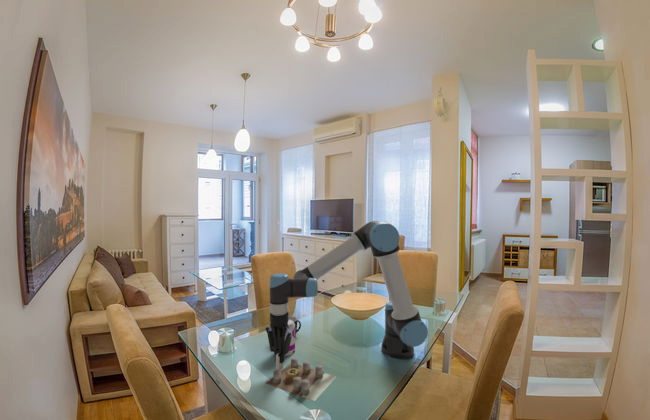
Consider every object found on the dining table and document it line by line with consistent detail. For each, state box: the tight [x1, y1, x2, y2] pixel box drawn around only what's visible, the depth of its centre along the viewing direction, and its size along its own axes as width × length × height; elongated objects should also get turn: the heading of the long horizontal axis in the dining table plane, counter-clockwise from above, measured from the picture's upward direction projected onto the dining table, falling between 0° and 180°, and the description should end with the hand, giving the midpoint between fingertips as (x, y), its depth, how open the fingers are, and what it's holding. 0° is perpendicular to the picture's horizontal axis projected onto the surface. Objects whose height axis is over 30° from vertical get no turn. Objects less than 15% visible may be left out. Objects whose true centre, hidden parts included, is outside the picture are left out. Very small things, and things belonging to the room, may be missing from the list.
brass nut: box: [286, 368, 299, 381], centre depth 116 cm, size 4×5×3 cm
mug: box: [289, 315, 302, 338], centre depth 154 cm, size 12×9×10 cm
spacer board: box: [266, 357, 337, 402], centre depth 115 cm, size 22×17×5 cm
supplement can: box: [284, 319, 296, 357], centre depth 137 cm, size 8×8×15 cm
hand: (279, 369), depth 120 cm, fingers closed
